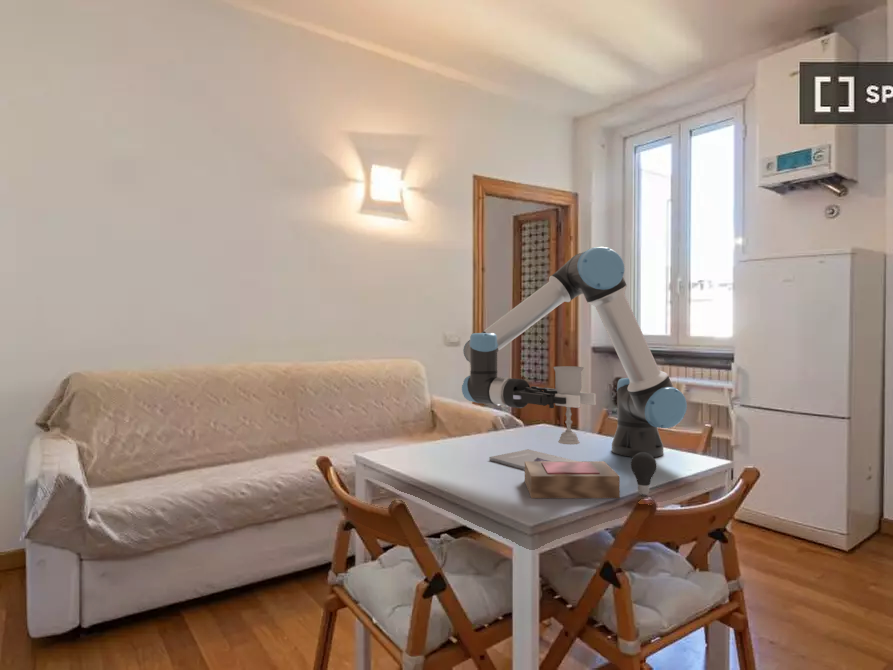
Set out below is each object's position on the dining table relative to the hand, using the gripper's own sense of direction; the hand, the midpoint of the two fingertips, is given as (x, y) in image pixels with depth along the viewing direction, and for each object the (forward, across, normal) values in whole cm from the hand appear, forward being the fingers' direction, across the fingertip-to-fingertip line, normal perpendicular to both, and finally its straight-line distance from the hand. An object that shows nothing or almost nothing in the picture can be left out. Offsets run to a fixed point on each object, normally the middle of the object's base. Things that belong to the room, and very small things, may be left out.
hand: (587, 400), depth 130 cm
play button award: (-27, -15, -23) cm, 38 cm away
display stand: (-5, 0, -22) cm, 22 cm away
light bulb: (+10, -8, -22) cm, 25 cm away
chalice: (-5, 0, -11) cm, 12 cm away
